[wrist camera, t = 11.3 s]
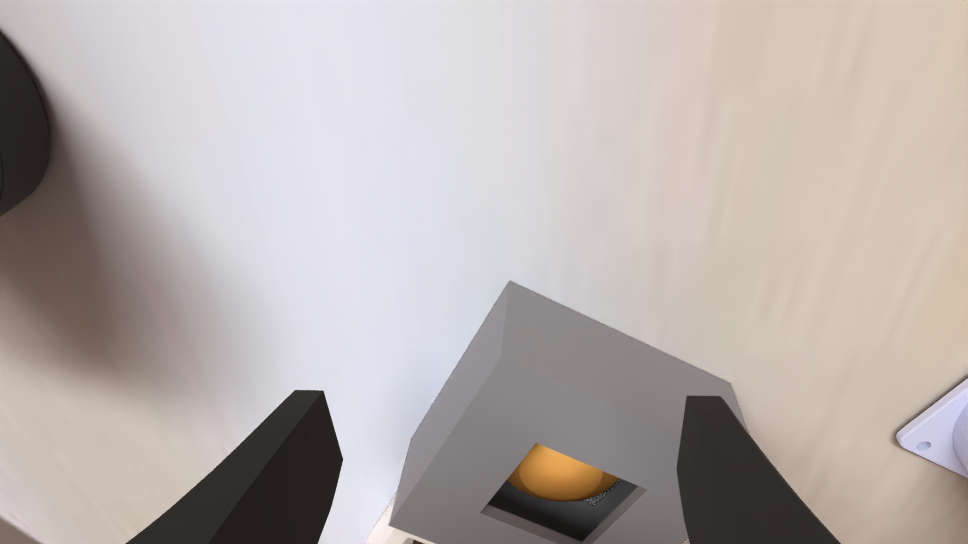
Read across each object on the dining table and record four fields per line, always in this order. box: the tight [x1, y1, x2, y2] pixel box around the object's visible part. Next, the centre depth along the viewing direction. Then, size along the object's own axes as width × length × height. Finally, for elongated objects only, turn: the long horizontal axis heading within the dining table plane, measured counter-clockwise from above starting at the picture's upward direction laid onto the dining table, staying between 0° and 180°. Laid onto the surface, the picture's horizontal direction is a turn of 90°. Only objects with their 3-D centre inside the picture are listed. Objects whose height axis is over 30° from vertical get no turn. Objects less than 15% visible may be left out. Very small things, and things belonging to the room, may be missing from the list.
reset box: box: [388, 281, 749, 544], centre depth 24 cm, size 10×10×4 cm
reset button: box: [507, 443, 619, 502], centre depth 24 cm, size 5×5×1 cm
